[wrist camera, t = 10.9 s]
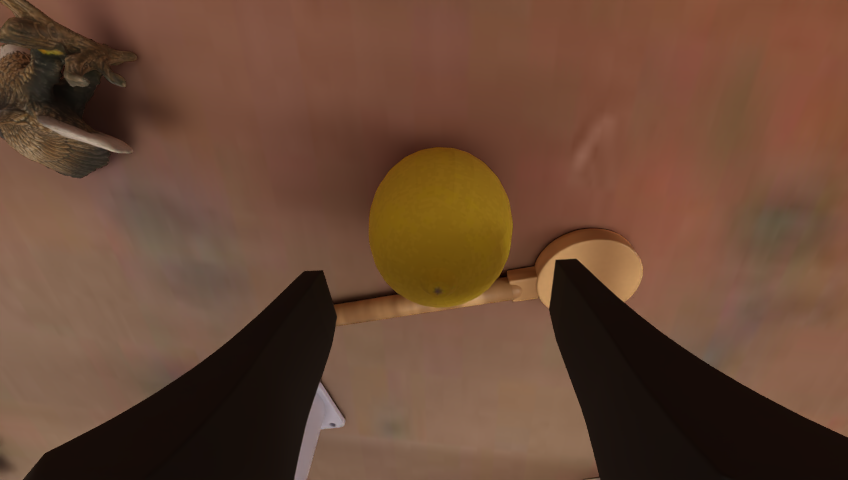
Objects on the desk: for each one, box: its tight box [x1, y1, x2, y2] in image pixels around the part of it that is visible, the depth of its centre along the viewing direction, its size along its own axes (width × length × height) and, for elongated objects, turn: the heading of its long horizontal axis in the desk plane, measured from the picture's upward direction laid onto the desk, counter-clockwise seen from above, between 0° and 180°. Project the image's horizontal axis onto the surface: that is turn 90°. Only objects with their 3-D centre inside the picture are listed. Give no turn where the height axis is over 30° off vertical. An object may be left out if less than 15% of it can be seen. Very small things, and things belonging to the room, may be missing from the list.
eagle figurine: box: [0, 0, 137, 178], centre depth 14 cm, size 8×7×9 cm
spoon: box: [334, 228, 643, 326], centre depth 22 cm, size 20×5×1 cm, turn 104°
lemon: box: [369, 147, 513, 308], centre depth 15 cm, size 6×6×8 cm
